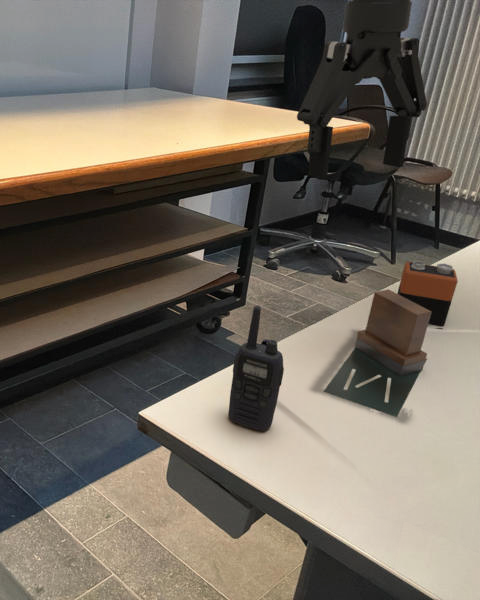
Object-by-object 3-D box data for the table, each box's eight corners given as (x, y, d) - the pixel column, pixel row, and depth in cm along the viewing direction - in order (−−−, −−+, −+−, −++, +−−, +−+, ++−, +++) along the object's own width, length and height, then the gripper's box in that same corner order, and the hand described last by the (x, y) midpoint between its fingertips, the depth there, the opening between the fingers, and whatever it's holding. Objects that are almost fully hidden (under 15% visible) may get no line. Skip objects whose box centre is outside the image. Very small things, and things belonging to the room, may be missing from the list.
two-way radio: (222, 421, 79) (238, 307, 72) (234, 402, 82) (251, 291, 76) (268, 437, 76) (290, 320, 70) (279, 417, 80) (301, 304, 73)
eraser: (354, 346, 93) (367, 291, 89) (375, 341, 94) (389, 286, 91) (400, 376, 86) (416, 317, 83) (422, 370, 88) (439, 312, 84)
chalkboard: (356, 342, 96) (358, 335, 96) (431, 365, 91) (434, 357, 91) (314, 399, 83) (315, 391, 83) (399, 430, 78) (401, 422, 78)
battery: (441, 336, 99) (460, 274, 94) (391, 327, 101) (407, 265, 96) (439, 323, 102) (457, 262, 98) (391, 314, 104) (406, 255, 100)
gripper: (424, -3, 90) (399, 156, 98) (277, 0, 80) (263, 176, 89) (476, -5, 84) (445, 165, 92) (323, -3, 74) (303, 188, 82)
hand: (356, 171), depth 90 cm, fingers open, 13 cm apart
